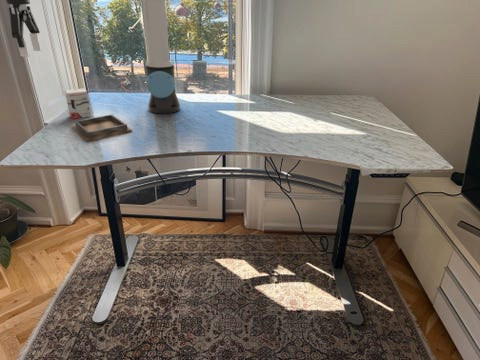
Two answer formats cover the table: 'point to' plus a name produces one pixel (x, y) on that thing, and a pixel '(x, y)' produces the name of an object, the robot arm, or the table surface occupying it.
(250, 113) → the table surface
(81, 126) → the tray
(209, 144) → the table surface
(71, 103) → the ink box
